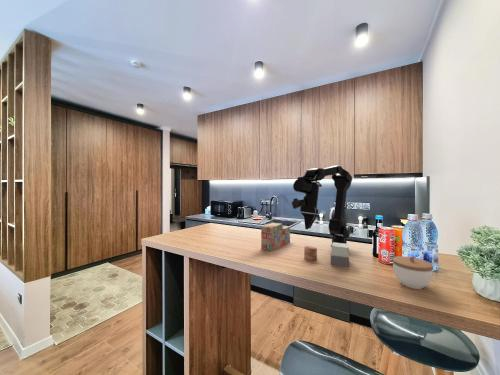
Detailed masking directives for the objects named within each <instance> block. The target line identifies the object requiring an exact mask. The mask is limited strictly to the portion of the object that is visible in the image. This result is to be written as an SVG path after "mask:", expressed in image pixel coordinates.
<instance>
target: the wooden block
mask: <svg viewBox="0 0 500 375" xmlns="http://www.w3.org/2000/svg"><path fill="white" fill-rule="evenodd" d="M303 250H304V251H303V252H304V253H303V255H304V260H305V261H308V262H315V261H317V260H318V248H317V247H316V246H313V245H308V246H307V245H306V246H304V249H303Z"/></svg>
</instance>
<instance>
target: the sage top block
mask: <svg viewBox="0 0 500 375" xmlns="http://www.w3.org/2000/svg"><path fill="white" fill-rule="evenodd" d="M331 245H332V246H331V252H332V255H333V256H340V257H348V253H349V251H348V250H349V246H348V245H349V244H348V243H347V244H344V243H334V242H333V244H332V243H331Z"/></svg>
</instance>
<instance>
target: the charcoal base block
mask: <svg viewBox="0 0 500 375" xmlns="http://www.w3.org/2000/svg"><path fill="white" fill-rule="evenodd" d="M331 265H332V266H338V267H346V268H350V253H349V252H348V257H340V256H333V255H332V251H331V252H330V266H331Z"/></svg>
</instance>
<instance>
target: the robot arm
mask: <svg viewBox="0 0 500 375" xmlns="http://www.w3.org/2000/svg"><path fill="white" fill-rule="evenodd" d="M328 176H331V179H332V180H333V182H334V183H333V184H334V187H335V188H336V193H335V194H336V195H335V202H334V203H335V204H334V212H333V217H331V218H329V219H328V233H329V235H330V236H332V237H331V245H330V247H332V244H333V242H334V243H344V244H348V243H347V241H348V238H350V236H351V232H350V231H349V229H348V227H347V225H348V224H347V220H345V212H346V211H345V210H346V200H347V199H346V198H347V191H348V190H349V188H350V187H351V185H352V181H353V176H352V175H351V173H350V172H349V171H347V170H345V169H344V168H343V167H342V166H341V165H332V166H328V167H324V168H321V167H318V168H308V169H306V171H305V172H304V174H303V176H297V179H296V180H295V181H294V183H293V184H292V188H293V190H294V191H295V192H297V193H301V194H305V195H304V196H303V199H298V198H297V197H296V198H293V200H292V201H291V205H292V209H294V210H295V209H300V210H299V212H300V214H301V215H302V216H303V221H304V228H305V230H309V229H311V228H312V226H313V224H314V222H316V219H317V217H318V214H319V209H318V201H319V192H320V188H322V187H323V185H322V184H321V182H320V181H322V180H323V179H325V177H328Z"/></svg>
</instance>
